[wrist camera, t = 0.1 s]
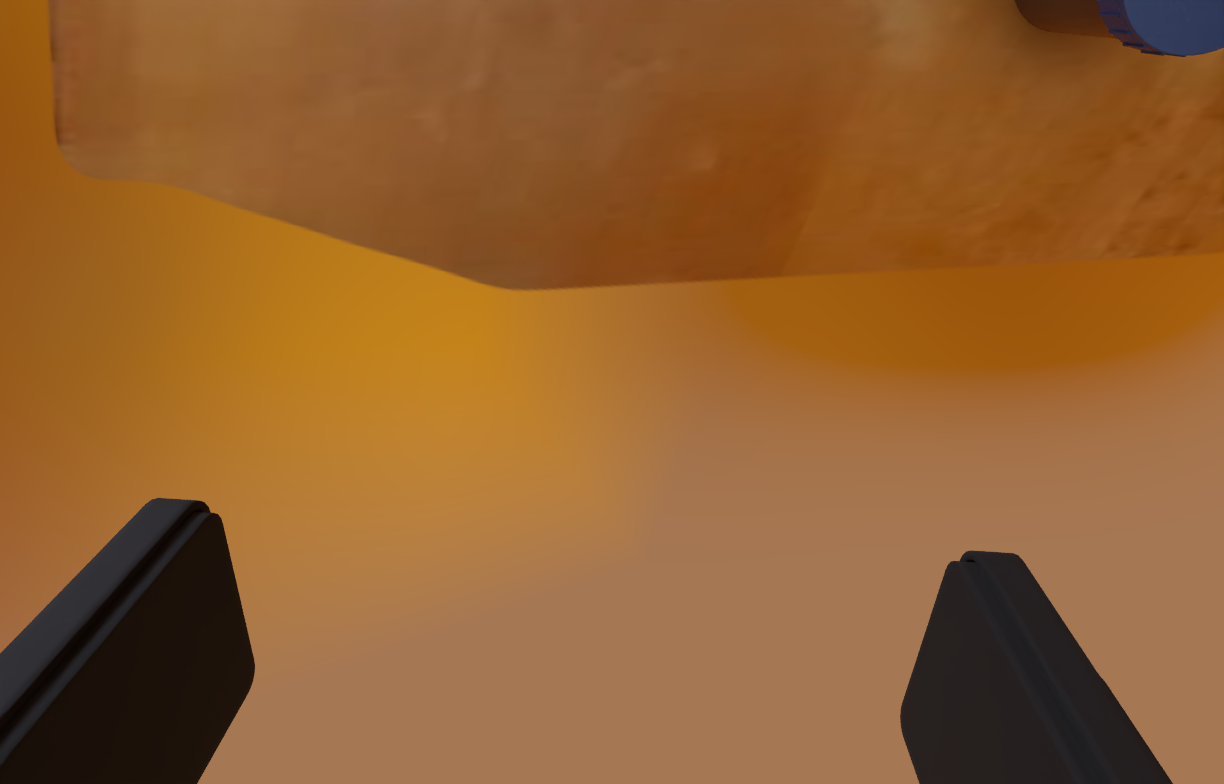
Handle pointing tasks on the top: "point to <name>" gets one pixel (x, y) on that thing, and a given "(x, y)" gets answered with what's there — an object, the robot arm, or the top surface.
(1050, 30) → the jar
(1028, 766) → the robot arm
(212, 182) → the top surface
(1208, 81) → the top surface
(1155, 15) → the jar lid
